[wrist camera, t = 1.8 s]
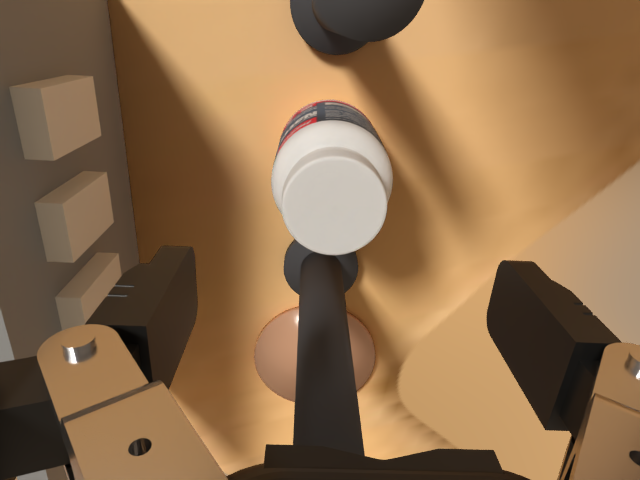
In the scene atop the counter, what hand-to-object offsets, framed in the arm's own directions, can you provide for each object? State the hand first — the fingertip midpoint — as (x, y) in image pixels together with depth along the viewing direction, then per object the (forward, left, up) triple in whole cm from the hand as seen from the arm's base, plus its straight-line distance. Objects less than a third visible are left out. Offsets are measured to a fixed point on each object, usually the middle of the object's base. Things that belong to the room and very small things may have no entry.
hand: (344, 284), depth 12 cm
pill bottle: (0, 0, -15) cm, 15 cm away
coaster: (+14, 0, -14) cm, 20 cm away
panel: (+3, -11, -14) cm, 19 cm away
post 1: (-7, 0, -14) cm, 16 cm away
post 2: (+7, 0, -14) cm, 16 cm away
